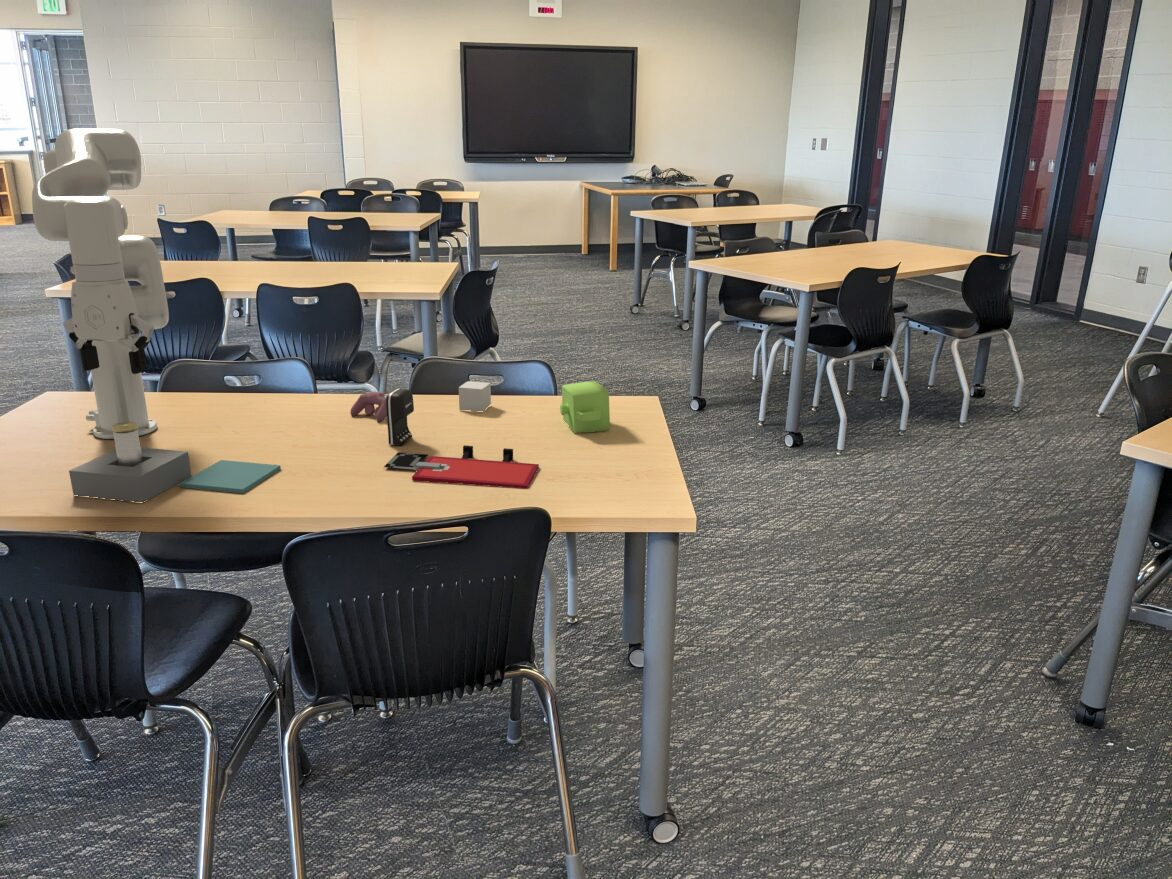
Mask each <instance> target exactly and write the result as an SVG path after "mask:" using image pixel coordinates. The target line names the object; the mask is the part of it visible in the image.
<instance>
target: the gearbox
mask: <svg viewBox="0 0 1172 879" xmlns="http://www.w3.org/2000/svg"><path fill="white" fill-rule="evenodd" d="M561 402H562V403H560V407H559V410H560V414H561V416H562V419H563V420H564V421H565V422H566V423H567V424H568V425H569V427H570V428H571V429H572V430H573V431H574V432H573V431H572V430H571V429H570V428H569V427H568V428H569V429H570V430H571V431H572V432H573V433H574V434H578V433H577V432H586V433H593V432H594V431H597V432H604V431H609V430H610V429H611V422H610V421H611V418H610V415H611V414H610V392H609V391H608V389H607V388H605V387H604V386H603V385H602V384H600V383H599V382H598V381H595V380H593V381H592V380H591V381H581V382H573V383H569V384H568V383H567V384H563V385H561ZM564 421H563V422H564ZM565 422H564V423H565ZM594 433H595V432H594Z"/></svg>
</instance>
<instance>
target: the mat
mask: <svg viewBox="0 0 1172 879" xmlns="http://www.w3.org/2000/svg"><path fill="white" fill-rule="evenodd" d="M281 468H282V467H281V465H279V464H271V463H270V464H268V463H259V462H247V461H236V460H225V459H220V460H218V461H217V462H215V463H213V464H211V465H210V466H207V467H206V468H203V469H202V470H200V471H198V472H196V473H195V474H193V475H191V477H189V478H187V479H185V480H184V481H182V482H180V483H179V487H180V488H184V489H185V488H186V489H196V490H207V491H215V492H217V491H218V492H226V493H234V494H235V493H237V494H245V493H246V492H248V491H250V490H251V489H252V488H254V487H255V486H257V485H259V484H260V483H261V482H264V480H266V479H268V478H270V477H271V476H273V475H274V474H276V473H277V472H279V471H280V470H281Z"/></svg>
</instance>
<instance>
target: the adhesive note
mask: <svg viewBox="0 0 1172 879" xmlns="http://www.w3.org/2000/svg"><path fill="white" fill-rule="evenodd" d="M491 388H492V387H491V382H482V381H471V380H470V381H469V380H468V381H465V382H464V383H463V384H461V385H459V387H458V407H459V408H458V409H459V410H471V411H484V410H485V409H486V408H487V407H488V406H489V405H490V404H491V405H492V392H491V391H492V390H491ZM484 412H485V411H484Z"/></svg>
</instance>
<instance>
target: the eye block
mask: <svg viewBox="0 0 1172 879" xmlns="http://www.w3.org/2000/svg"><path fill="white" fill-rule="evenodd" d="M140 447H141V454H142V460H143V462H142V463H140V464H138V465H136V466H134V467H128V466H119V464H118V458H117V452H116V448H115V449H114V450H112V451H109V452H107V453H105V454H102V455H100V456H98V457H96V458H93V459H91V460H89V461H87V462H85V463H83V464H80V465H78V466H76V467H74V468H71V469H70V470H68V473H69V479H70V485H71V490H72V493H73V496H74V495H78V496H89V497H98V498H105V499H115V500H123V501H134V502H144V501H146V500H148V499H150V498H151V499H153V498H155V497H157V496H158V494H159V493H160V494H162V493H163V491H164V492H166V491H167V490H170V488H172V486H173V487H174V485H175V486H176V485H178V484H180V483H181V482H182V481H183V480H186V479H188V478H190V477H191V476H192V469H191V464H190V456H189V455H190V454H189V451H183V450H174V449H173V450H172V449H164V448H162V449H161V448H152V447H142V446H140ZM165 490H166V491H165ZM161 492H162V493H161ZM160 494H159V495H160ZM156 495H157V496H156ZM154 496H155V497H154ZM152 497H153V498H152ZM151 499H150V500H151ZM148 501H149V500H148ZM146 502H147V501H146ZM144 503H145V502H144Z"/></svg>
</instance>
